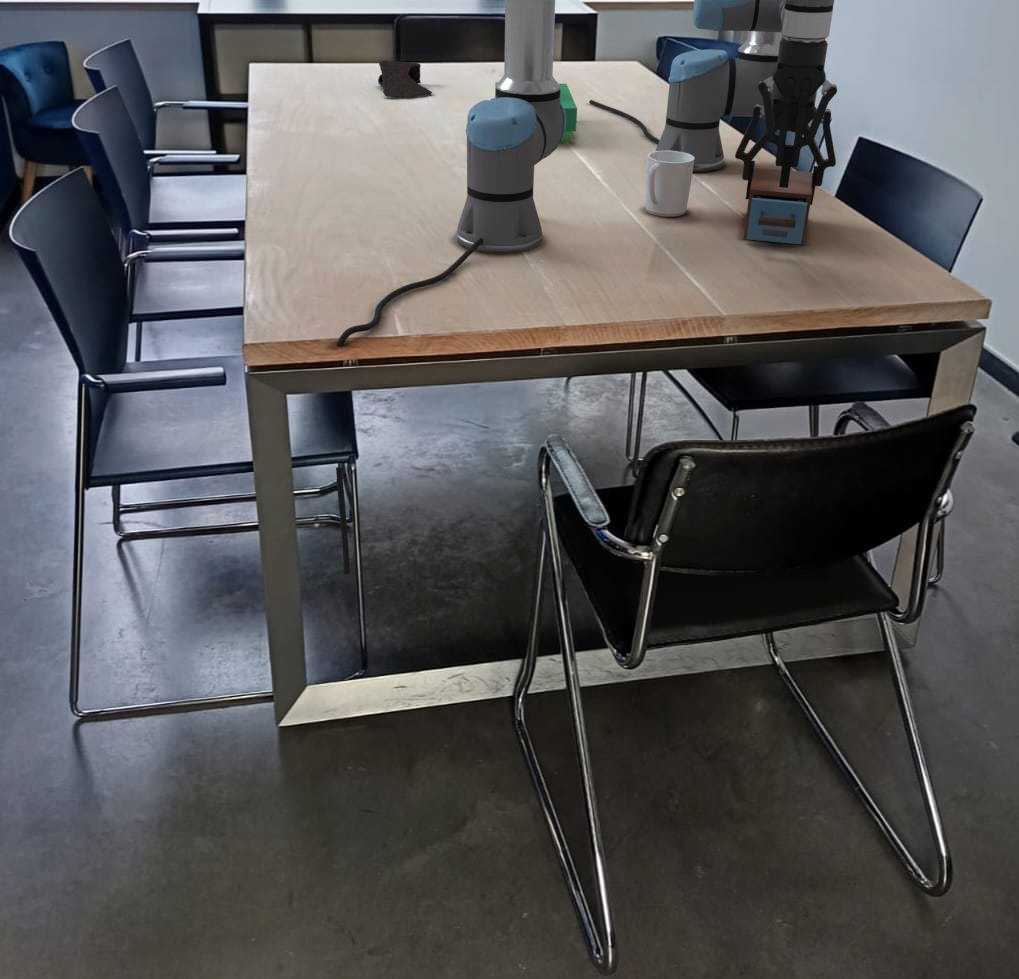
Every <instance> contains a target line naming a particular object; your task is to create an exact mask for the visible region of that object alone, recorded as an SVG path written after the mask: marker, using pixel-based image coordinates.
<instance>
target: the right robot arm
mask: <svg viewBox="0 0 1019 979" xmlns="http://www.w3.org/2000/svg"><path fill="white" fill-rule="evenodd" d="M784 7H785V0H750V1H748V2H747V3H746V4H744V5H741V6H738V7H735V8H724V7H720V6H718V5H716V4H715V3H713V2H712V0H694V1H693V11H692V12H693V14H692V19H693V25H694V26H695V28H697V29H699V30H705V31H713V32H719V31H720V32H727V31H728V32H730V31H731V32H747V34H746V39H745V41H744V43H742V44H741V45H740V46H739V47H738V48H737V56H736V58H732V57H731V58H729V55H728V52H727V51H726V50H724V49H714V48H713V49H712V48H711V49H709V48H708V49H698V50H697V49H696V50H691V51H687V52H683V53H680V54H678V55H676V57H674V58H673V59H672V62H671V64H670V65H671V66H670V73H669V77H668V82H669V85H668V96H667V104H666V105H667V106H666V116H665V125H664V128H663V131H662V132H661V136H660V138H658V137H655V136H653V134H650V132H649V131H648V128H647V127H646V125H644V123H643V122H642V121H640V120H639V119H638V118H636V117H635V116H633V115H631V114H628V113H626V112H624V111H622V110H620V109H616V108H614V107H611V106H608V105H606V104H603V103H601V102H598V101H595V100H593V99H590V100H589V104H590V105H593V106H596V107H599V108H600V109H604V110H606V111H608V112H611V113H614V114H616V115H619V116H621V117H624V118H625V119H628V120H630V121H632V122H634V123H635V124H636V125H638V126H639V127H640V128H641V129H642V131H643V134H644V135H645V136H646V138H648V139H649V140H650V141H652V142H654V143H656V144H657V145H656V148H655V150H654V152H655V151H678V152H684V153H688V154H690V155H692V156H694V165H693V172H692V173H707V172H713V171H717V170H719V169H721V168H723V166H724V160H725V156H724V155H725V154H724V149H723V144H722V138H721V134H720V123H721V117H742V118H743V117H744V118H745V117H747V118H748V117H749V118H751V120H750V122H749V124H748V126H747V129H746V130H745V132H744V134H743V137H742V139H741V141H740V142H739V145H738V148H737V149H736V151H735V155H734V158H735V159H736V160H740V161H742V162H743V168H742V176H741V178H742V180H743V181H747V185H746V193H745V200H749V193H750V187H751V182H752V176H753V172H754V168H755V165H756V160H754V158H755V157H756V156H757V155H758V154H759V152H760V151H761V150H762V149H763V147H764V146H766V144H767V143H768V139H767V130H765V131H764V132H763V133H762V135H760V137H759V138H758V140H757V141H756V142H755V143H754V144H753V146H752V147H751V148H749V149H750V150H749V151H748V152H745V151H746V149H747V146H748V145H749V143H750V140H751V139H752V137H753V134H754V132H755V130H756V129H757V126H758V124H759V121H760V120H761V119H765V112H764V103H763V97H762V95H761V93H760V91H759V89H758V85H759V82H760V81H762V80H766V79H768V78H770V77H771V76H772V75H773V72H774V70H775V69H776V67H777V61H778V53H779V45H780V41H781V40H782V39H783V38H784V37H785V36H782V34H781V30H782V22H783V14H784ZM770 93H771V99H772V108H773V118H774V127H775V133H776V132H777V131H780V125H781V118H782V111H783V103H784V97H783V96H782V95H781V93H780V91H779V90H778V88H777V86H776V84H775V83H774V84H773V90H772V92H770ZM817 94H818V90H817V91H816V92H815V93H814V94H813V95H812V96H811V97H810V98H809V99H808V101H807V108H806V115H805V122H804V129H803V136H802V137H805V136H806V135H807V133H808V130H809V128H810V124H811V123H812V120H813V118H814V115H815V113H816V110H817V107H816V100H817ZM799 102H800V100H799V99H792V100H791V107H790V114H789V121H788V128H787V132H791V133H793V134H795V131H796V124H797V117H798V110H799ZM831 118H832V110H831V109H830V108H826V111H825V113H824V116H823V118H822V121H821V123H820V124H822V130H823V132H822V133H823V137H824V143H825V149H826V154H827V158H824V156H823V154H822V152H821V149H820V148H819V146H818V143H817V141H816V139H815V138H814V140H813V143H812V144H811V145H807V146H808V148H809V150H810V152H811V155H812V157H813V160H814V161H815V163H816V165H813V170H812V198H811V204H810V206H813V203H814V196H815V190H816V187H821V186H822V185H823V180H824V175H825V170H826V169H828V168H832V167H835V166H836V165H837V159H836V153H835V148H834V147H835V146H834V141H833V136H832V135H833V134H832V130H831Z"/></svg>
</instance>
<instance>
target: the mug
mask: <svg viewBox="0 0 1019 979" xmlns="http://www.w3.org/2000/svg"><path fill="white" fill-rule="evenodd" d="M693 165H694V156H692V155H690V154H688V153H684V152H678V151H655V150H654V151H651V152H649V153H648V154H646V171H645V172H646V173H645V194H644V196H645V198H644V200H645V201H644V210H645V212H647V213H648V214H651V215H654V216H659V217H668V218H669V217H671V218H672V217H679V216H683V215H684V214H686V213H687V210H688V204H689V196H690V191H691V185H692V184H691V183H692V179H693V173H694V172H693Z"/></svg>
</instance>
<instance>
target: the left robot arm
mask: <svg viewBox="0 0 1019 979" xmlns="http://www.w3.org/2000/svg"><path fill="white" fill-rule="evenodd" d="M748 1H750V0H712V2H713V3H715V4H716V5H718V6H720V7H724V8H735V7H738V6H741V5H744V4H746V3H747V2H748ZM834 5H835V0H785V7H784V14H783V22H782V30H781V34H782V36H785V37H784V38H783V39H782V40H781V41H780V45H779V53H778V61H777V67H776V69H775V70H774V72H773V75H772V76H771V77H770V78H768V79H766V80H762V81H760V82H759V85H758V89H759V91H760V93H761V95H762V97H763V103H764V112H765V118H764V120H765V121H764V122H765V129H766V130H767V139H768V141H767V143H769V144H773V145H775V146H776V154H775V155H776V156H775V162H774V163H775V167H781V169H780V170H781V176H780V183H779V187H783V188H788V184H789V177H790V171H792V169H791V168H797V167H798V166H799V162H800V156H801V155H800V154H801V150H802V148H803V147H806V146H808V145H811V144H812V143H813V140H814V139H815V138H816V136H817V133H818V131H819V128H820V126H821V124H822V123H821V121H822V118H823V116H824V113H825V111H826V109H828V105H829V104H830V101H831V100H832V99H833V98H834V97H835V96H836V95H837V93H838V86H837V84H834V83H831V82H830V81H829V80H828V79H827V74H826V71H825V65H826V58H827V52H828V45H829V43H828V41H827V40H826V39H827V38H829V37H830V31H831V26H832V18H833V14H834V13H833V12H834ZM555 19H556V0H505V3H504V63H503V64H504V70H503V71H504V72H503V76H502V77H501V79H499V80H498V83H497V84H496V96H495V95H494V97H493V98H490V99H484V100H481V101H479V102H477V103H476V104H474V105H473V106H472V107H471V108H470V109H469V111H468V113H467V120H466V121H467V122H466V128H465V135H466V192H467V193H466V198H465V202H464V205H463V209H462V211H461V214H460V218H459V220H458V224H457V228H456V241H457V243H458V244H459V245H461V246H462V247H464V248H466V249H467V250H466V251H465V252H464V253H463V254H462V255H460V257H459V258H457V260H455V262H453V263H452V264H451V265H450V266H449V267H448V268H447V269H446V270H445V271H443V272H442V273H439V274H438V275H435V276H434V277H431V278H427V279H424V280H419V281H415V282H412V283H409V284H405V285H403V286H401V287H399V288H396V289H395V290H393V291H391V292H390V293H388V294H387V295H386V296H385V297H383V298H382V299H381V300H380V301H379V302H378V304H377V305H376V306H375V308H374V309H375V310H374V316H373V318H372V320H371V321H369V322H368V323H363V324H357V325H353V326H351V327H348V328H347V329H345V330H344V331H343V332H342V334H341V335H340V336H339V337H338V340H337V342H336V344H335V347H336V348H341V347H343V346H344V344H345V342H346V341H347V339H348V338H350V336H351V335H354V334H356V333H360V332H361V333H362V332H367V331H371V330H372V329H374V328H375V327H376V326H377V325H378V324H379V322H380V320H381V315H382V311H383V309H384V308H385V307H386V306H387V305H388V303H389V302H391V301H392V300H393V299H395V298H397V297H398V296H400V295H402V294H404V293H407V292H409V291H413V290H416V289H419V288H420V289H421V288H424V287H428V286H431V285H434V284H437V283H439V282H441V281H443V280H444V279H447V278H448V277H449V276H451V274H453V273H454V272H455V271H456V270H457V269H458V268H459V267H460V266H462V264H463V263H464V262H465V261H466V260H467V259H468V258H469V257H470V256H471V255H472V254H473V253H474V252H479V253H486V254H497V255H499V254H500V255H506V254H507V255H508V254H517V253H524V252H527V251H530V250H533V249H536V248H538V247H539V246H540V245H541V244H542V243H543V229H542V224H541V221H540V220H541V219H540V218H539V214H538V213H539V212H538V210H537V206H536V204H535V199H534V183H535V181H534V180H535V166H536V165H537V164H538V163H540V162H541V161H542V160H544V159H546V158H547V157H549V156H551V155H552V154H553V153H554V152H555V151H556V150H557V148H558V147H559V145H560V144H561V143H560V142H561V140H562V138H563V136H564V133H565V129H566V115H565V111H564V108H563V106H562V104H561V103H560V89H561V88H560V85H559V84H560V83H559V82H558V81H557V80H556V79H555V78H554V75H553V74H554V49H555V48H554V46H555V45H554V44H555V23H556V22H555ZM774 83H775V84H776V86H777V88H778V90H779V91H780V93H781V95H782V96H783V97H784V103H783V111H782V118H781V125H780V130H779V131H778V132H779V133H778V134H776V132H775V127H774V118H773V108H772V99H771V93H770V92H772V90H773V84H774ZM821 87H822V88H821ZM820 88H821V91H820V92H821V98H820V100H819V103H818V106H817V107H816V113H815V115H814V118H813V119H812V121H811V122H810V124H809V127H810V128H809V130H808V133H807V135H806V136H805V137H804V136H803V129H804V122H805V115H806V108H807V101H808V99H809V98H810V97H811V96H812V95H813V94H814V93H815V92H816V91H817V92H818V90H819V89H820ZM792 99H799V100H800V102H799V110H798V117H797V124H796V131H795V133H794V140H793V144H786V141H787V134H788V131H787V128H788V121H789V114H790V107H791V100H792ZM766 130H765V131H766ZM335 474H336V486H337V487H336V488H337V497H338V499H337V500H338V508H339V520H340V530H341V532H340V533H341V544H342V557H343V558H342V560H343V572H344V575H349V574H350V573H351V565H350V550H349V549H350V548H349V536H348V524H347V512H346V511H347V510H346V501H345V500H346V499H345V487H344V474H343V467H339V466H336V467H335Z"/></svg>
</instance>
